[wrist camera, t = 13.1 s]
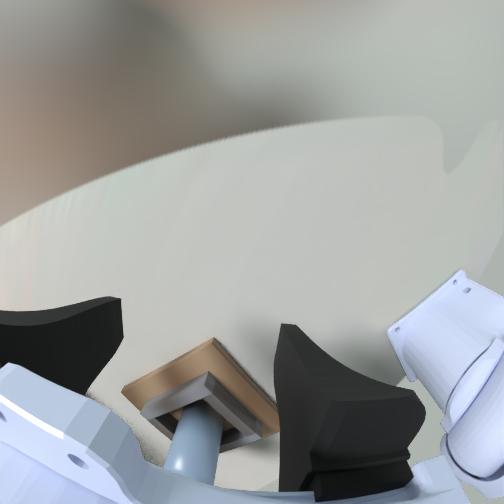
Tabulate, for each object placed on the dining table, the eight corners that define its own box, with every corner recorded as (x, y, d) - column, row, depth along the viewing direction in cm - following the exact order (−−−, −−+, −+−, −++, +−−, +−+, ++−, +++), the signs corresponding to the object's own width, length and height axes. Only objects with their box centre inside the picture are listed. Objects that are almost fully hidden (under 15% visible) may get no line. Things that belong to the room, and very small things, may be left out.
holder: (213, 337, 22) (207, 357, 19) (290, 419, 24) (292, 440, 21) (124, 386, 23) (112, 404, 20) (199, 452, 25) (195, 471, 22)
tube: (205, 394, 22) (186, 464, 14) (233, 419, 23) (224, 487, 15) (174, 408, 22) (151, 471, 15) (202, 431, 23) (187, 493, 15)
